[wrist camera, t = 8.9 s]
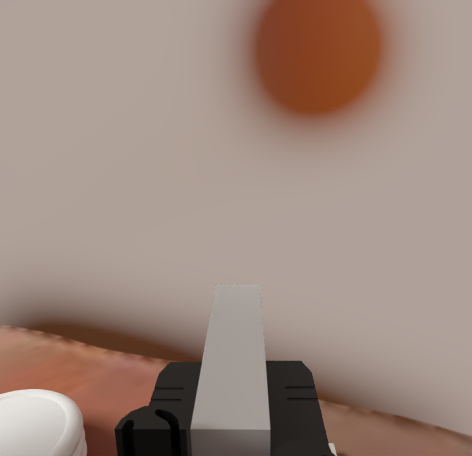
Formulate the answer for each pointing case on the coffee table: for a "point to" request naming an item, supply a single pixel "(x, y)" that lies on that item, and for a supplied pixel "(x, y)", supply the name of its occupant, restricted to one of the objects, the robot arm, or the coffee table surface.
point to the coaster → (40, 424)
